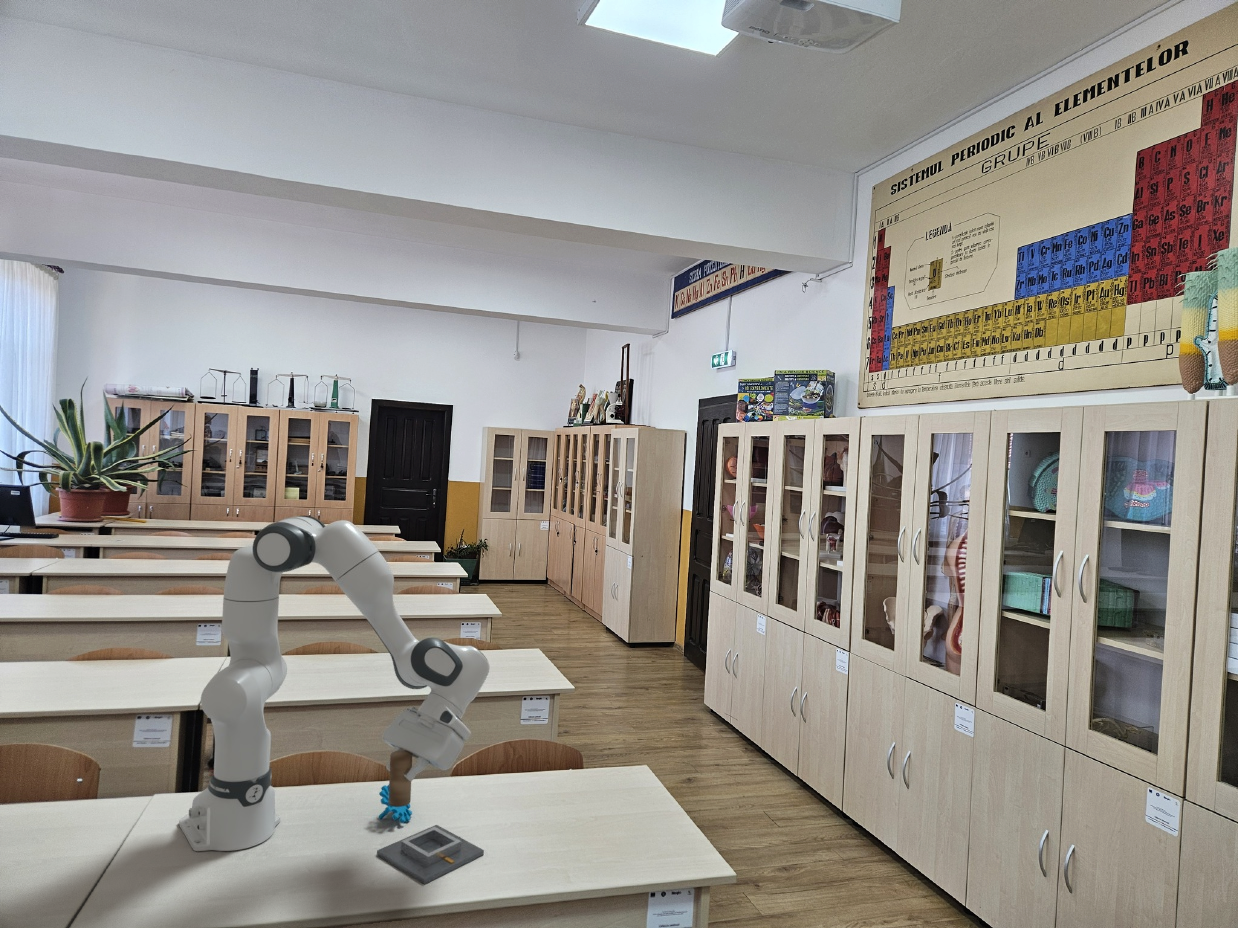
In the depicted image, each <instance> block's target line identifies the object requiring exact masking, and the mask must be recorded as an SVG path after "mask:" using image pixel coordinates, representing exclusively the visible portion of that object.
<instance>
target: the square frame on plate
mask: <svg viewBox="0 0 1238 928" xmlns="http://www.w3.org/2000/svg"><path fill="white" fill-rule="evenodd" d="M484 854H485V850H484V849H482V848H481V847H478V846H476V845H475V844H473V843H472V842H470V841H467V840H466V839H464V838H462V837H460V836H458V835H456V834H455V833H453V832H451V831H449V830H447V829H445V828H443V827H442V826H440V825H439V824H435V825H432V826H430V827H428V828H426V829H423V830H421V831H419V832H416V833H414V834H412V835H409V836H406V837H405V838H402V839H400V840H398V841H395V842H394V843H391V844H388V845H386V846H384V847H382V848H379V849H377V850H376V856H377V857H379V858H381V859H382V860H384V861H386V863H387V862H388V863H389V864H390V865H392V866H394V867H395V868H397V869H398V870H401V871H402V872H403V873H405V874H407V875H409V876H410V877H411V878H413V879H415V880H417V881H418V882H420V883H422V884H423V885H426V884H429V883H430V882H432V881H434V880H436V879H438V878H440V877H443V876H444V875H446V874H448V873H450V872H452V871H454V870H456V869H458V868H460V867H462V866H464V865H466V864H468V863H470V862H472V861H474V860H476V859H478V858H480V857H482V856H483V855H484Z"/></svg>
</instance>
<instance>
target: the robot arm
mask: <svg viewBox="0 0 1238 928" xmlns="http://www.w3.org/2000/svg"><path fill="white" fill-rule="evenodd" d="M312 563H315V564H318V565H320V566H322V567H323V568H324V569H325V570H326V571H327V572H328V574H329V575H330V577H332V579H333V581H334V582H335V583H336V584H337V586H338V587H339V589H340V590H341V591H342V592H343V593H344V594H345V596H347V597H346V598H348V599H349V601H351V602H352V603H353V605H354V606H355V607H356V608H357V609H358V611H359V612H360V613H361V614H362V615H363V617H364V618H365V619H366V620H367V622H368V623H369V624H370V626H371V628H372V629H373V630H374V632H375V634H376V635H377V636H378V638H379V639H380V641H381V642H382V644H383V645H384V647H385V649H386V650H387V651H388V654H389V655H390V657H391V660H392V664H393V670H394V674H395V676H396V678H397V680H398V682H399V683H400V684H402V686H404V687H405V688H407V689H410V690H411V689H412V690H422V689H425V688H427V687H428V688H429V689H430V692H429V693H428V695H427V696H426V698H425V699H424V700H423V702H422V704H420V706H419V708H416V707H415V706H410V707H408V708H404V709H403V710H402V711H401V712H400V713H399V714H398V715H397V716H396V717H395V718H394V719H393V720H392V721H391V722H390V724H389V725H388V726H387V727H386V728H385V730H384V731H383V733H382V736H381V740H382V741H383V742H384V743H385V744H387V745H388V746H390V747H391V748H393V749H392V750H391V753H393V752H395V751H399V750H406V751H408V752H410V753H412V758H415V759H416V761H415V762H416V763H415V764H414V765H412V768H411V769H409V768H407V770H406V772H405V773H404V774H403V777H404V778H406V779H407V780H409V781H411V782H413V780H415V778H416V776H417V775H418V774H420V773H421V772H423V771H424V770H426V768H427V767H428V766H429V765H430V766H432V767H435V768H437V769H439V770H442V771H446V770H448V769H450V768H451V767H452V766H453V765H454V763H455V762H456V760H457V758H458V756H459V755H460V753H461V751H462V750H463V748H464V745H465V741H467V740H468V739H470V737H471V735H472V732H471V730H470V729H469V728H468V727H467V726H466V725H465V723H463V720H462V717H463V716H464V715H465V713H466V709H467V707H468V706H469V704H471V702H473V701H474V699H475V698H476V697H477V695H478V694H479V692H480V691H481V688H482V687H483V686H484V683H485V682H486V680H487V678H488V675H489V673H490V664H489V661H488V659H487V657H486V655H484V653H483V652H482V651H481V650H479V649H478V648H476V647H475V646H472V645H457V644H453V643H450V642H447V641H444V640H442V639H440V638H437V637H427V638H423V639H421V640H418V639H417V638H416V637H415V636H414V635H413V633H412V632H411V630H410V629H409V627H408V626H407V624H406V623H405V621H404V620H403V619H402V617H401V615H400V614H399V613H398V611H397V609H396V607H395V603H394V583H395V577H394V574H393V571H392V570H391V567H390V566H389V563H388V562H387V561H386V559H385V558H384V556H383V555H382V554H381V552H380V551H379V549H378V548H377V546H375V544H374V543H373V542H372V541H371V540H370V538H368V536H367V535H366V534H365V533H364V532H363V531H362V530H361V529H360V528H359V527H358V526H356V525H355V524H354V523H353V522H351V521H349V520H346V519H345V520H344V519H341V520H336V521H333V522H330V523H328V524H325V523H324V522H322V521H321V520H320V519H318V518H316V517H314V516H312V515H299V516H290V517H285V518H283V519H281V520H279V521H277V522H273V523H270V524H267V525H266V526H265V527H263V528H261V530H260V531H258V533H257V534H256V536H255V538H254V540H253V543H252V545H248V546H247V545H245V546H243V547H241V548H239V549H237V550H235V551H234V552H233V553H232V554H231V556H230V559H229V562H228V566H227V570H226V571H227V572H226V576H225V580H224V587H223V601H222V615H221V618H222V619H221V633H222V636H223V637H224V638H225V640H226V641H227V645H228V649H229V655H230V661H229V664H228V666H226V667H224V668H223V669H221V670H220V671H218V672H217V673H216V674H214V676H212V678H211V679H210V680H209V682H207V684H206V685H205V687H204V688H203V690H202V692H201V696H200V704H201V709H202V711H203V712H204V714H205V715H206V716H207V717H208V718H209V719H210V720H211V721H210V722H211V724H212V730H213V735H214V760H213V761H214V764H213V769H211V770H209V773H210V774H209V777H210V779H209V781H208V786H207V787H206V788H205V789H204V790H202V791H201V792H199V793H198V794H197V795H195V797H194V798H193V799H192V805H191V807H190V808H189V810H188V814H186V815H184V816H182V817H181V818H180V819H179V822H178V825H179V827H180V830H181V831H182V833H183V834H184V836H185V838H186V839H187V841H188V843H189V845H190V847H191V849H192V850H193V851H195V852H204V851H219V852H222V851H223V852H225V851H227V852H229V851H230V852H231V851H239V850H244V849H248V848H251V847H254V846H257V845H259V844H261V843H264V842H265V841H267V840H268V839H269V838H271V836H272V835H273V834H274V831H275V827H276V826H277V825H279V823H280V822H281V816H280V815H278V814H276V811H277V810H276V790H275V788H274V787H273V786H272V785H271V784H272V767H271V766H270V765H271V763H270V762H271V745H272V744H271V743H272V733H271V731H270V730H269V729H268V727H267V725H266V721H265V716H264V715H265V714H264V708H265V704H266V701H267V700H269V699H270V698H271V697H272V696H274V695H275V694H276V693H277V692H278V691H279V689H280V688H281V686H283V683H284V681H285V680H286V677H287V672H288V666H287V662H286V660H285V659H284V657H283V656H282V653H281V647H280V641H279V633H278V632H279V631H278V625H279V624H278V622H279V604H280V602H279V600H280V583H281V578H282V575H283V573H287V572H291V571H293V570H296V569H299V568H302V567H304V566H305V567H306V566H308V565H310V564H312ZM385 766H386V767H385V768H386V770H387V771H389V772H390V761H389V762H388V763H387V764H386V765H385Z"/></svg>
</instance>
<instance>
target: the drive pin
mask: <svg viewBox="0 0 1238 928" xmlns="http://www.w3.org/2000/svg"><path fill="white" fill-rule="evenodd" d="M389 762H390V771H389V783H388V785H389V802H388V803H389V805H390V806H393V807H402V806H406V805H408V804H409V803H411V799H412V798H411V797H412V796H411V794H412V793H411V792H412V781H409V780H407V779H406V778H404V777H403V774H404V773H405V772H406V770H407V768H409V769H411V768H412V767H413V756H412V753H410V752H408V751H406V750H399V751H395V752H393V753H392V752H391V753H390V755H389Z"/></svg>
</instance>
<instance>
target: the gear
mask: <svg viewBox="0 0 1238 928" xmlns="http://www.w3.org/2000/svg"><path fill="white" fill-rule="evenodd" d="M380 789H381V791H380V792H378V793H379V794H378V795H379V796H380V797H382V798H381V799H380V804H381V805H385V806H386V807H385V808H384V810H383V811H382V812H381V813H379V815H378V818H379V820H382V819H383V818H384V817H386V816H387V815H388V814H390V812H393V814H392V815H391V818H392V819H393V820H394V821H397V820H398V821H399V823H401V824H404V823H405V822H406V823H408V822H409V821H411V816H412V815H413V811H412V810H410V808H411V804H410V803H411V802H410V803H409V804H408V805H406V806H402V807H393V806H390V805H389V803H388V802H389V784H388V785H387V784H385V785H382V787H380Z"/></svg>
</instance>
